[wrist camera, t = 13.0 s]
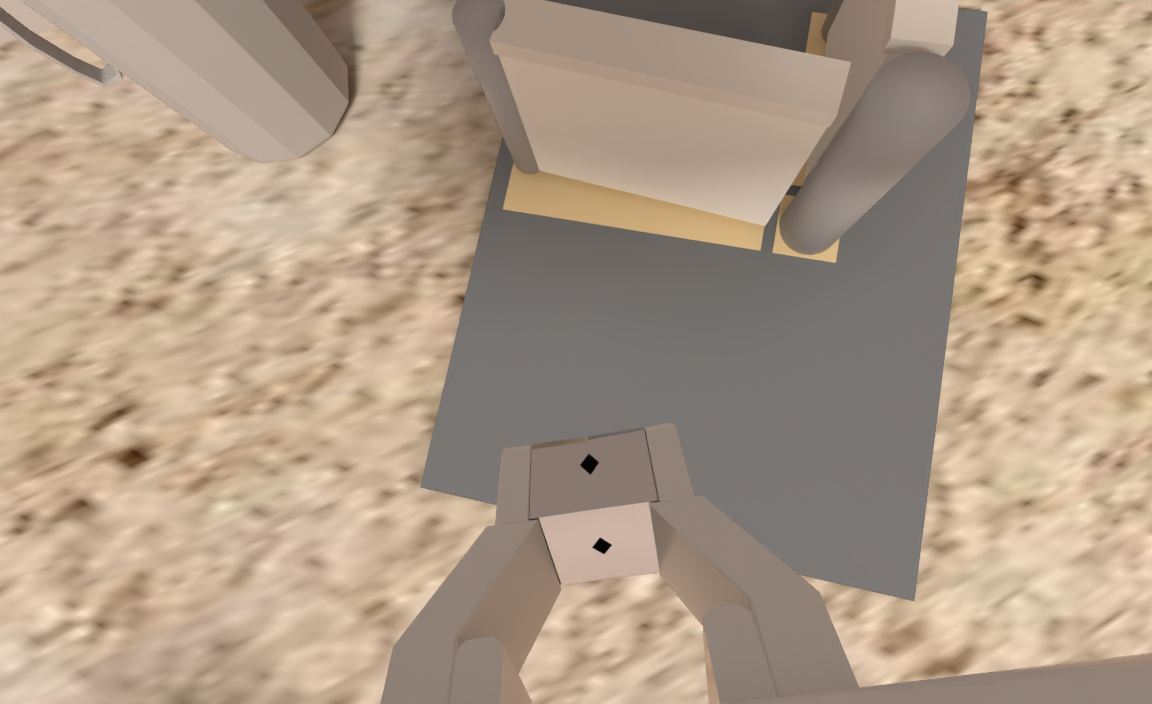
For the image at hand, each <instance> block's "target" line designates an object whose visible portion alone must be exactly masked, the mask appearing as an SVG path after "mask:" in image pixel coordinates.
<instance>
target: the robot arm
mask: <svg viewBox="0 0 1152 704" xmlns="http://www.w3.org/2000/svg"><path fill="white" fill-rule="evenodd" d="M652 573H660V576H661V577H662V578H663V579H664V580H665V581H666V583H667V584H668V585H669V586H670V587H671V589H672V590H673V591H674V592H675V593H676V595H677V596H678V597H679V598H680V599H681V601H682V602H683V603H684V604H685V605H686V607H687V608H688V609H689V610H690V611H691V612H692V614H693V615H694V616H695V617H696V618H697V620H698V621H699V622H700V623H701V624H702V626H703V635H704V649H705V662H706V675H707V688H708V699H709V704H1152V653H1148V654H1140V655H1131V656H1123V657H1114V658H1106V659H1097V660H1089V661H1081V662H1072V663H1064V664H1055V665H1047V666H1038V667H1030V668H1022V669H1013V670H1005V671H996V672H988V673H979V674H971V675H962V676H954V677H945V678H937V679H928V680H920V681H911V682H903V683H894V684H886V685H877V686H869V687H860V688H859V686H858V684H857V681H856V679H855V676H854V674H853V672H852V669H851V667H850V664H849V662H848V660H847V657H846V655H845V652H844V650H843V648H842V645H841V643H840V640H839V638H838V636H837V633H836V631H835V628H834V626H833V623H832V621H831V619H830V616H829V614H828V611H827V609H826V607H825V604H824V602H823V599H822V597H821V595H820V592H819V591H818V590H816V589H815V588H814V587H813V586H812V585H810V584H809V583H808V582H807V581H806V580H804V579H803V578H802V577H801V576H799V575H798V574H797V573H796V572H795V571H793V570H792V569H791V568H790V567H789V566H787V565H786V564H785V563H784V562H783V561H781V560H780V559H779V558H778V557H777V556H775V555H774V554H773V553H772V552H771V551H769V550H768V549H767V548H766V547H764V546H763V545H762V544H761V543H760V542H758V541H757V540H756V539H755V538H754V537H752V536H751V535H750V534H749V533H748V532H746V531H745V530H744V529H743V528H742V527H740V526H739V525H738V524H737V523H735V522H734V521H733V520H732V519H731V518H729V517H728V516H727V515H726V514H725V513H723V512H722V511H721V510H720V509H719V508H717V507H716V506H715V505H714V504H713V503H711V502H710V501H709V500H708V499H707V498H705V497H704V496H696V497H694V494H693V491H692V487H691V483H690V479H689V475H688V472H687V468H686V464H685V460H684V456H683V453H682V449H681V445H680V441H679V438H678V434H677V430H676V426H675V425H674V424H673V423H666V424H660V425H654V426H648V427H645V429H644V428H636V429H630V430H624V431H618V432H612V433H606V434H600V435H594V436H588V437H583V438H575V439H567V440H559V441H552V442H544V443H536V444H533V445H526V446H518V447H510V448H505V449H504V451H503V453H502V456H501V467H500V478H499V488H498V499H497V510H496V521H495V525H494V526H488V527H486V528H485V529H484V531H483V532H482V533H481V535H480V536H479V537H478V538H477V540H476V541H475V542H474V544H473V545H472V546H471V547H470V549H469V550H468V551H467V553H466V554H465V555H464V556H463V558H462V559H461V560H460V562H459V563H458V564H457V565H456V567H455V568H454V569H453V571H452V572H451V573H450V574H449V576H448V577H447V578H446V580H445V581H444V582H443V583H442V585H441V586H440V587H439V589H438V590H437V591H436V592H435V594H434V595H433V596H432V598H431V599H430V600H429V601H428V603H427V604H426V605H425V607H424V608H423V609H422V610H421V612H420V613H419V614H418V616H417V617H416V618H415V619H414V621H413V622H412V623H411V625H410V626H409V627H408V628H407V630H406V631H405V632H404V634H403V635H402V636H401V637H400V639H399V640H398V641H397V643H396V644H395V645H394V646H393V651H392V655H391V660H390V664H389V668H388V673H387V677H386V682H385V686H384V691H383V695H382V700H381V704H533V703H532V701H531V699H530V697H529V695H528V693H527V691H526V689H525V687H524V685H523V683H522V681H521V679H520V677H519V675H518V674H519V672H520V670H521V668H522V666H523V664H524V662H525V660H526V658H527V656H528V654H529V652H530V650H531V648H532V646H533V644H534V642H535V640H536V638H537V636H538V634H539V632H540V630H541V628H542V626H543V624H544V622H545V620H546V619H547V617H548V615H549V613H550V611H551V609H552V607H553V605H554V603H555V601H556V599H557V597H558V595H559V593H560V591H561V587H560V586H564V585H570V584H576V583H583V582H589V581H595V580H601V579H607V578H615V577H624V576H634V575H643V574H652Z"/></svg>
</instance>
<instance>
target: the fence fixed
mask: <svg viewBox="0 0 1152 704" xmlns="http://www.w3.org/2000/svg"><path fill="white" fill-rule="evenodd" d="M958 6H959V0H834V2H833V4H832V6H831V8H830V11H829V13H828V15H827V17H826V19H825V21H824V24H823V26H822V29H821V35H822V38H823V40H824V41H825V42H826V49H825V55H824V57H828V58H833V59H838V60H843V61H848V62H851V65H850V69H849V72H848V76H847V80H846V84H845V88H844V91H843V95H842V99H841V103H840V106H839V110H838V114H837V116H836V118H835V120H834V121H833V123H832V124H831V126H830V127H827V129H826V130H825V132H824V133H823V135H822V136H821V138H820V140H819V141H818V143H817V144H816V146H815V148H814V149H813V151H812V152H811V154H810V156H809V157H808V159H807V166H806V172H805V178H804V181H805V182H804V184H803V185H802V187H801V188H800V190H799V191H798V193H797V194H796V196H795V197H794V199H793V200H792V202H791V203H790V205H789V206H788V208H787V209H786V211H785V212H784V214H783V215H782V217H781V220H780V225H779V229H780V235H781V237H782V239H783V241H784V243H785V244H786V245H787V246H788V247H789V248H790V249H792V250H793V251H795V252H797V253H800V254H804V255H815V254H819V253H822V252H824V251H826V250H827V249H828V248H830V247H831V246H832V245H833V244H834V243H835V242H836V241H837V240H838V239H839V238H840V237H841V236H842V235H843V234H844V233H845V232H846V231H847V230H848V229H849V228H850V227H851V226H852V225H854V224H855V223H856V222H857V221H858V220H859V219H860V218H861V217H862V216H863V215H864V214H865V213H866V212H867V211H868V210H869V209H870V208H871V207H872V206H873V205H874V204H875V203H876V202H877V201H878V200H879V199H881V198H882V197H883V196H884V195H885V194H886V193H887V192H888V191H889V190H890V189H891V188H892V187H893V186H894V185H895V184H896V183H897V182H898V181H899V180H900V179H901V178H902V177H903V176H904V175H905V174H906V173H908V172H909V171H910V170H911V169H912V168H913V167H914V166H915V165H916V164H917V163H918V162H919V161H920V160H921V159H922V158H923V157H924V156H925V155H926V154H927V153H928V152H929V151H930V150H931V149H932V148H933V147H935V146H936V145H937V144H938V143H939V142H940V141H941V140H942V139H943V138H944V137H945V136H946V135H947V134H948V133H949V132H950V131H951V130H952V129H953V128H954V127H955V126H956V125H957V124H958V123H959V122H960V121H961V120H962V119H963V117H964V116H965V114H966V112H967V110H968V108H969V104H970V96H971V94H970V87H969V83H968V81H967V78H966V77H965V75H964V73H963V72H962V71H961V69H960V68H959V67H958V66H957V65H956V64H955V63H953V62H952V61H951V60H949V59H947V58H945V57H944V56H945V55H946V54H947V52H948V51H949V50H950V49H951V47H952V46H953V44H954V37H955V29H956V21H957V14H958Z"/></svg>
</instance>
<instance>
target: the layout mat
mask: <svg viewBox="0 0 1152 704" xmlns="http://www.w3.org/2000/svg"><path fill="white" fill-rule="evenodd" d="M545 1H550V2H555V3H560V4H565V5H570V6H575V7H580V8H585V9H590V10H595V11H600V12H605V13H610V14H615V15H620V16H625V17H630V18H635V19H640V20H645V21H650V22H654V23H659V24H664V25H669V26H674V27H679V28H684V29H689V30H694V31H699V32H704V33H709V34H714V35H719V36H724V37H729V38H734V39H739V40H744V41H749V42H754V43H759V44H764V45H769V46H774V47H778V48H783V49H788V50H793V51H798V52H803V53H808V54H813V55H818V56H823V57H824V55H825V49H826V42H825V41H824V40H823V38H822V35H821V29H822V26H823V24H824V21H825V19H826V17H827V15H828V13H829V11H830V8H831V6H832V4H833V2H834V0H545ZM986 20H987V12H985V11H975V10H966V9H958V14H957V21H956V29H955V37H954V44H953V46H952V47H951V49H950V50H949V51H948V52H947V54H946V55H945V56H944V57H945V58H947V59H949V60H951V61H952V62H953V63H955V64H956V65H957V66H958V67H959V68H960V69H961V71H962V72H963V73H964V75H965V77H966V78H967V81H968V83H969V87H970V94H971V96H970V104H969V108H968V110H967V112H966V114H965V116H964V117H963V119H962V120H961V121H960V122H959V123H958V124H957V125H956V126H955V127H954V128H953V129H952V130H951V131H950V132H949V133H948V134H947V135H946V136H945V137H944V138H943V139H942V140H941V141H940V142H939V143H938V144H937V145H936V146H935V147H933V148H932V149H931V150H930V151H929V152H928V153H927V154H926V155H925V156H924V157H923V158H922V159H921V160H920V161H919V162H918V163H917V164H916V165H915V166H914V167H913V168H912V169H911V170H910V171H909V172H908V173H906V174H905V175H904V176H903V177H902V178H901V179H900V180H899V181H898V182H897V183H896V184H895V185H894V186H893V187H892V188H891V189H890V190H889V191H888V192H887V193H886V194H885V195H884V196H883V197H882V198H881V199H879V200H878V201H877V202H876V203H875V204H874V205H873V206H872V207H871V208H870V209H869V210H868V211H867V212H866V213H865V214H864V215H863V216H862V217H861V218H860V219H859V220H858V221H857V222H856V223H855V224H854V225H852V226H851V227H850V228H849V229H848V230H847V231H846V232H845V233H844V234H843V235H842V236H841V237H840V238H839V239H838V240H837V241H836V242H835V243H834V244H833V245H832V246H831V247H830V248H828V249H827V250H826V251H824V252H822V253H819V254H815V255H804V254H800V253H797V252H795V251H793V250H792V249H790V248H789V247H788V246H787V245H786V244H785V243H784V241H783V239H782V237H781V235H780V229H779V225H780V220H781V217H782V215H783V214H784V212H785V211H786V209H787V208H788V206H789V205H790V203H791V202H792V200H793V199H794V197H795V196H796V194H797V193H798V191H799V190H800V188H801V187H802V185H803V184H804V182H805V181H804V178H805V172H806V166H807V160H806V162H805V164H804V165H803V167H802V168H801V170H800V172H799V173H798V175H797V176H796V178H795V180H794V181H793V183H792V184H791V186H790V188H789V189H788V191H787V192H786V194H785V195H784V197H783V199H782V200H781V202H780V203H779V205H778V207H777V208H776V210H775V211H774V213H773V215H772V216H771V218H770V219H769V221H768V223H767V224H766V226H763V225H759V224H755V223H751V222H747V221H743V220H738V219H734V218H730V217H726V216H722V215H718V214H714V213H710V212H706V211H702V210H698V209H694V208H690V207H686V206H681V205H677V204H673V203H669V202H665V201H661V200H657V199H653V198H649V197H645V196H641V195H637V194H633V193H629V192H624V191H620V190H616V189H612V188H608V187H604V186H600V185H596V184H592V183H588V182H584V181H580V180H576V179H572V178H568V177H563V176H559V175H555V174H551V173H547V172H543V171H540V172H538V173H535V174H526V173H523V172H521V171H520V170H519V169H518V168H517V167H516V165H515V163H514V161H513V158H512V156H511V154H510V151H509V149H508V147H507V145H506V142H505V140H504V138H502V143H501V147H500V151H499V155H498V160H497V164H496V168H495V172H494V177H493V181H492V185H491V189H490V194H489V198H488V202H487V206H486V211H485V215H484V219H483V223H482V228H481V232H480V236H479V240H478V245H477V249H476V253H475V257H474V261H473V266H472V270H471V274H470V278H469V283H468V287H467V291H466V295H465V300H464V304H463V308H462V312H461V317H460V321H459V325H458V329H457V334H456V338H455V342H454V346H453V351H452V355H451V359H450V363H449V368H448V372H447V376H446V380H445V385H444V389H443V393H442V397H441V402H440V406H439V410H438V414H437V419H436V423H435V427H434V431H433V436H432V440H431V444H430V448H429V453H428V457H427V461H426V465H425V469H424V474H423V478H422V482H421V486H420V487H421V488H425V489H429V490H434V491H438V492H442V493H447V494H451V495H455V496H460V497H464V498H468V499H473V500H477V501H481V502H486V503H490V504H494V505H497V499H498V488H499V478H500V467H501V456H502V453H503V451H504V449H505V448H510V447H518V446H526V445H533V444H536V443H544V442H552V441H559V440H567V439H575V438H583V437H588V436H594V435H600V434H606V433H612V432H618V431H624V430H630V429H636V428H644V429H645V427H648V426H654V425H660V424H666V423H673V424H674V425H675V426H676V430H677V434H678V438H679V441H680V445H681V449H682V453H683V456H684V460H685V464H686V468H687V472H688V475H689V479H690V483H691V487H692V491H693V494H694V497H696V496H704V497H705V498H707V499H708V500H709V501H710V502H711V503H713V504H714V505H715V506H716V507H717V508H719V509H720V510H721V511H722V512H723V513H725V514H726V515H727V516H728V517H729V518H731V519H732V520H733V521H734V522H735V523H737V524H738V525H739V526H740V527H742V528H743V529H744V530H745V531H746V532H748V533H749V534H750V535H751V536H752V537H754V538H755V539H756V540H757V541H758V542H760V543H761V544H762V545H763V546H764V547H766V548H767V549H768V550H769V551H771V552H772V553H773V554H774V555H775V556H777V557H778V558H779V559H780V560H781V561H783V562H784V563H785V564H786V565H787V566H789V567H790V568H791V569H792V570H793V571H795V572H796V573H797V574H798V575H803V576H807V577H812V578H816V579H820V580H825V581H829V582H833V583H838V584H842V585H846V586H851V587H855V588H859V589H864V590H868V591H872V592H877V593H881V594H885V595H890V596H894V597H898V598H903V599H907V600H911V601H914V599H915V591H916V583H917V575H918V567H919V559H920V551H921V543H922V535H923V527H924V519H925V511H926V503H927V495H928V487H929V479H930V471H931V463H932V454H933V446H934V438H935V430H936V422H937V414H938V406H939V398H940V390H941V382H942V374H943V366H944V358H945V350H946V342H947V334H948V326H949V318H950V310H951V302H952V294H953V285H954V277H955V269H956V261H957V253H958V245H959V237H960V229H961V221H962V213H963V205H964V197H965V189H966V181H967V173H968V165H969V157H970V149H971V141H972V133H973V124H974V116H975V108H976V100H977V92H978V84H979V76H980V68H981V60H982V52H983V44H984V36H985V28H986Z"/></svg>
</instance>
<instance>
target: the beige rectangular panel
mask: <svg viewBox="0 0 1152 704" xmlns="http://www.w3.org/2000/svg"><path fill="white" fill-rule="evenodd" d="M452 18H453V23H454V25H455V27H456V30H457V32H458V34H459V36H460V39H461V41H462V43H463V46H464V48H465V50H466V53H467V55H468V57H469V59H470V62H471V64H472V66H473V69H474V71H475V73H476V76H477V78H478V80H479V82H480V85H481V87H482V89H483V92H484V94H485V96H486V99H487V101H488V103H489V105H490V108H491V110H492V112H493V115H494V117H495V119H496V122H497V124H498V126H499V128H500V131H501V133H502V135H503V138H504V140H505V142H506V145H507V147H508V149H509V151H510V154H511V156H512V158H513V161H514V163H515V165H516V167H517V168H518V169H519V170H520V171H521V172H523V173H526V174H535V173H538V172H540V171H543V172H547V173H551V174H555V175H559V176H563V177H568V178H572V179H576V180H580V181H584V182H588V183H592V184H596V185H600V186H604V187H608V188H612V189H616V190H620V191H624V192H629V193H633V194H637V195H641V196H645V197H649V198H653V199H657V200H661V201H665V202H669V203H673V204H677V205H681V206H686V207H690V208H694V209H698V210H702V211H706V212H710V213H714V214H718V215H722V216H726V217H730V218H734V219H738V220H743V221H747V222H751V223H755V224H759V225H763V226H766V224H767V223H768V221H769V219H770V218H771V216H772V215H773V213H774V211H775V210H776V208H777V207H778V205H779V203H780V202H781V200H782V199H783V197H784V195H785V194H786V192H787V191H788V189H789V188H790V186H791V184H792V183H793V181H794V180H795V178H796V176H797V175H798V173H799V172H800V170H801V168H802V167H803V165H804V164H805V162H806V160H807V159H808V157H809V156H810V154H811V152H812V151H813V149H814V148H815V146H816V144H817V143H818V141H819V140H820V138H821V136H822V135H823V133H824V132H825V130H826V129H827V127H830V126H831V124H832V123H833V121H834V120H835V118H836V116H837V114H838V110H839V106H840V103H841V99H842V95H843V91H844V88H845V84H846V80H847V76H848V72H849V69H850V65H851V62H848V61H843V60H838V59H833V58H828V57H823V56H818V55H813V54H808V53H803V52H798V51H793V50H788V49H783V48H778V47H774V46H769V45H764V44H759V43H754V42H749V41H744V40H739V39H734V38H729V37H724V36H719V35H714V34H709V33H704V32H699V31H694V30H689V29H684V28H679V27H674V26H669V25H664V24H659V23H654V22H650V21H645V20H640V19H635V18H630V17H625V16H620V15H615V14H610V13H605V12H600V11H595V10H590V9H585V8H580V7H575V6H570V5H565V4H560V3H555V2H550V1H545V0H457V2H456V3H455V5H454V8H453V13H452Z"/></svg>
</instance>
